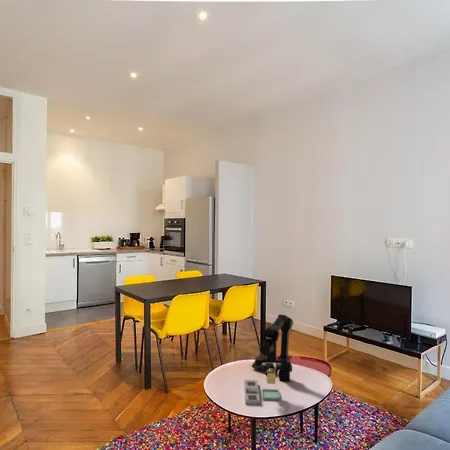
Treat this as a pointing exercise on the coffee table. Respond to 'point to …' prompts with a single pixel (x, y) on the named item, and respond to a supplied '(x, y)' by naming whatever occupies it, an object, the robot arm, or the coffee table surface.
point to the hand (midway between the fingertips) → (270, 376)
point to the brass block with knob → (270, 376)
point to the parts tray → (270, 394)
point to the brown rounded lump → (268, 365)
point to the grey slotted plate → (252, 387)
